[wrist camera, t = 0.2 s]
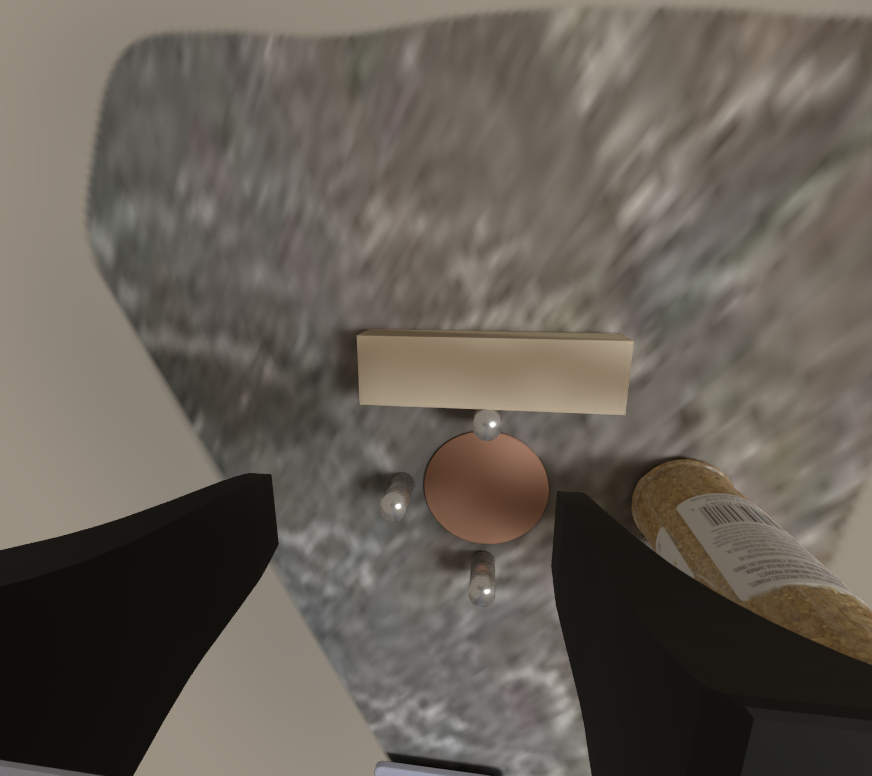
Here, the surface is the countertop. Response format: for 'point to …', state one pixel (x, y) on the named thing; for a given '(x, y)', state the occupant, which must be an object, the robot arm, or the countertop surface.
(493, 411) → the guide pins
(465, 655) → the countertop surface
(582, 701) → the robot arm
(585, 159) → the countertop surface
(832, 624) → the sprinkles bottle
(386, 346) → the wooden bar with disc
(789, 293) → the countertop surface
